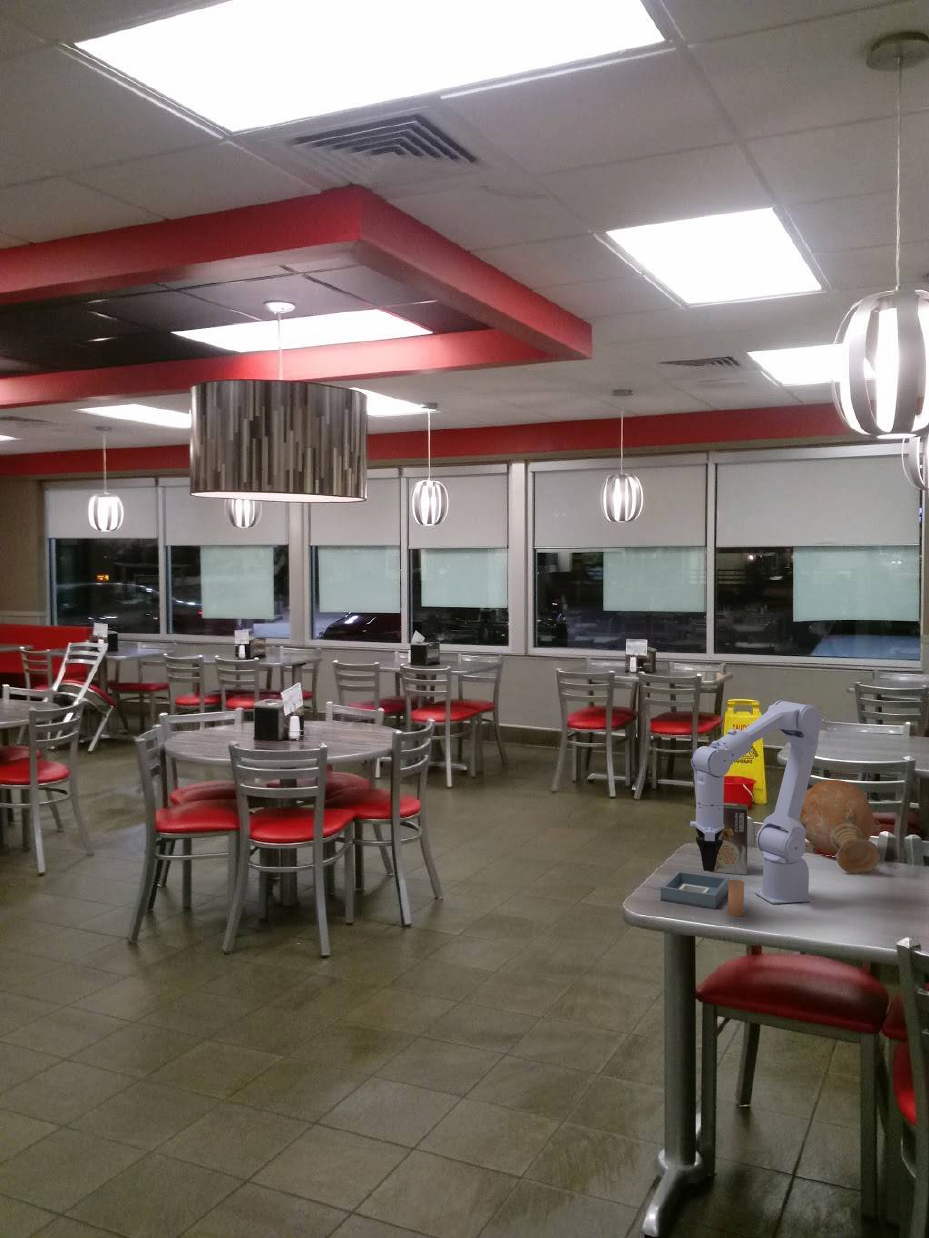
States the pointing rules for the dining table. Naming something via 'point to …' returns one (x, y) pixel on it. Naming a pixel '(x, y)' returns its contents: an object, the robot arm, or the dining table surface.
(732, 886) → the peg
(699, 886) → the tray box
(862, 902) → the dining table surface
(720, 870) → the coffee box
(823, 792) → the jug
